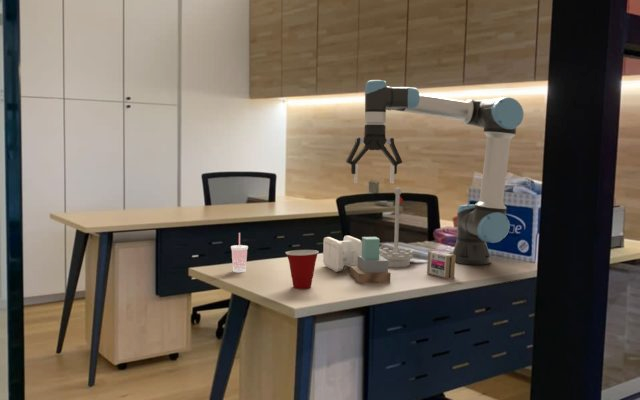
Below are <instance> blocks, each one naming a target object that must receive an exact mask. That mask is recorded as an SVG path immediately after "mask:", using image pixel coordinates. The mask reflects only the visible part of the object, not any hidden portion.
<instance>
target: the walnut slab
mask: <svg viewBox="0 0 640 400" xmlns="http://www.w3.org/2000/svg"><path fill="white" fill-rule="evenodd" d="M391 274H392V273H391V272H390V271H388V272H379V273H365V272H364V271H362V270H361V269H360V268H358V266H350V267H349V276H350V277H351V278H352V279H353V280H354V281H355V282H356V283H357V284H358V285H365V284H366V285H369V284H391Z"/></svg>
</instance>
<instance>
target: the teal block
mask: <svg viewBox="0 0 640 400" xmlns="http://www.w3.org/2000/svg"><path fill="white" fill-rule="evenodd" d="M380 241H381V240H380V238H379V237H377V236H361V242H362V257H363V258H364V259H365V260H368V259H379V250H380V244H381V242H380Z"/></svg>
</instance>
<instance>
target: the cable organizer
mask: <svg viewBox="0 0 640 400" xmlns="http://www.w3.org/2000/svg"><path fill="white" fill-rule="evenodd" d="M322 246H323V248H322V249H323V251H322V252H323V253H322V255H323V256H322V257H323V259H322V261H323V262H322V263H323V265H324V266H326V268H327V269H330V270H332V271H333V272H335V273H339V272H342V271H343V269H344V268H345V266H347V268H348V267H349V268H350V266H358V256H362V239H359V238H357V237H354V236H351V235H344V237H343V240H338V239H335V238H333V237H331V236H326V237H323V245H322Z"/></svg>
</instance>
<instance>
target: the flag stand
mask: <svg viewBox="0 0 640 400" xmlns="http://www.w3.org/2000/svg"><path fill="white" fill-rule="evenodd" d="M393 193H394V195H395V206H394V207H395V208H394V212H395V213H394V240H393V243H394V245H393V249H392V250H390V248H389V247H383V248H382V249H380V248H379V255H380V256H382V257H383V258H385V259H386V260H388V267H393V268H404V267H405V268H406V267H409V266H410V265H411V264H410V263H411V260H412V259H413V256H414V250H411V249H409V248H404V249H403V250H401V248H400V247H399V229H400V221H399V220H400V204H401V203H402V202H403V200H404V199H403V198H402V196H401V194H402V188H401V187H395V188H394V189H393Z"/></svg>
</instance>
